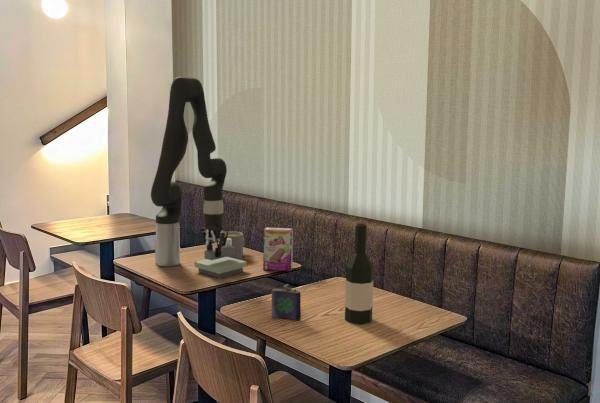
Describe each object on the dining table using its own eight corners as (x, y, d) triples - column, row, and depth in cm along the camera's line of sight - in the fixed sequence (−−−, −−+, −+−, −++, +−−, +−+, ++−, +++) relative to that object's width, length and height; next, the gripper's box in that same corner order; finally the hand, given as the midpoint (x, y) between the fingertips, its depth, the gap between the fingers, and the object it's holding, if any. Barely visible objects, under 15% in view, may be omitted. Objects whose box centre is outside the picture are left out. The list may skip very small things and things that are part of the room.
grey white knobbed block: (204, 258, 231) (204, 242, 230) (227, 253, 240) (227, 237, 239) (211, 260, 229) (211, 244, 228) (234, 254, 238) (234, 239, 237)
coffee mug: (229, 261, 252) (229, 237, 250) (214, 256, 259) (214, 233, 257) (253, 255, 262) (253, 232, 260) (238, 251, 268) (238, 229, 267)
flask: (270, 318, 186) (270, 284, 184) (273, 315, 188) (273, 281, 187) (299, 321, 183) (299, 287, 181) (302, 318, 186) (302, 284, 184)
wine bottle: (361, 326, 180) (364, 226, 175) (339, 319, 185) (341, 222, 180) (377, 319, 186) (381, 222, 181) (355, 313, 191) (358, 219, 186)
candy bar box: (262, 270, 238) (263, 229, 235) (264, 267, 243) (265, 227, 240) (291, 271, 237) (291, 230, 234) (292, 268, 242) (293, 228, 239)
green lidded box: (194, 272, 235) (194, 261, 234) (221, 265, 245) (221, 255, 245) (219, 279, 226) (219, 268, 225) (246, 271, 237) (246, 261, 236)
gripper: (193, 210, 231) (194, 254, 234) (218, 215, 222) (219, 261, 225) (208, 208, 237) (209, 251, 239) (233, 212, 228) (234, 257, 230)
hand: (214, 255), depth 232 cm, fingers closed on grey white knobbed block, 4 cm apart
